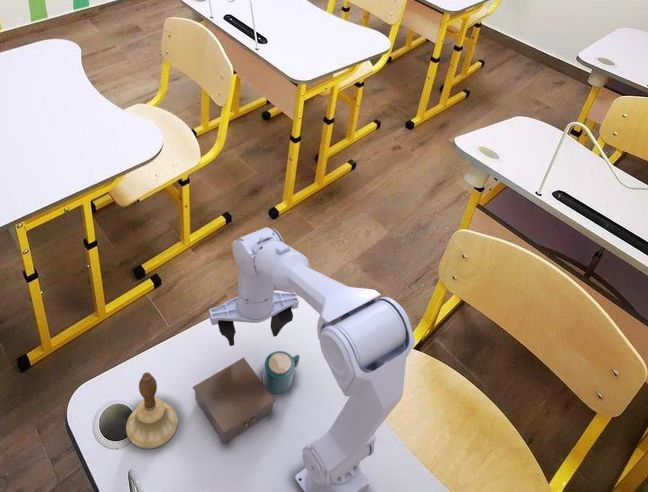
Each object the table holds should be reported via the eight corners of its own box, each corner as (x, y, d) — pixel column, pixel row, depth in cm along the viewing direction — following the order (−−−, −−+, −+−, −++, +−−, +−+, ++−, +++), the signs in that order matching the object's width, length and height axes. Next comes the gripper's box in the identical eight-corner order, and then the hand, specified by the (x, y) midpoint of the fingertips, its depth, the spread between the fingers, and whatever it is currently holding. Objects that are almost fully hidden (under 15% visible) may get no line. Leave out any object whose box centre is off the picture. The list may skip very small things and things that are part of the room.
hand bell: (172, 395, 102) (167, 345, 91) (183, 439, 97) (179, 391, 86) (122, 410, 99) (110, 360, 88) (130, 456, 93) (119, 409, 83)
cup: (305, 378, 108) (308, 361, 104) (273, 399, 105) (276, 382, 100) (288, 357, 111) (291, 340, 107) (257, 376, 107) (258, 359, 103)
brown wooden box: (274, 415, 102) (276, 401, 99) (224, 448, 97) (224, 434, 93) (242, 371, 107) (243, 357, 104) (193, 400, 102) (192, 386, 98)
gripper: (293, 262, 98) (286, 309, 107) (205, 277, 92) (206, 326, 102) (305, 295, 93) (297, 341, 102) (214, 312, 88) (214, 360, 97)
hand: (252, 336), depth 102 cm, fingers open, 7 cm apart
